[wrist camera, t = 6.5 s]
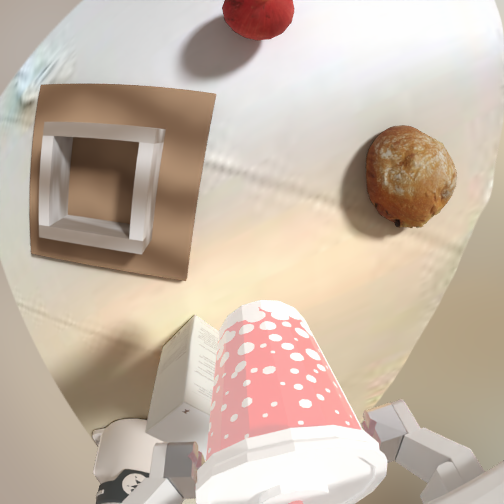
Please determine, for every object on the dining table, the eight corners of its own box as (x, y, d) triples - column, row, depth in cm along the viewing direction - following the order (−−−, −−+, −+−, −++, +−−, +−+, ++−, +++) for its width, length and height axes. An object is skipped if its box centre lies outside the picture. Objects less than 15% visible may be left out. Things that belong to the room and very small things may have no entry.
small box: (162, 346, 35) (141, 432, 23) (195, 312, 34) (183, 400, 22) (215, 380, 38) (214, 466, 26) (250, 350, 36) (260, 439, 24)
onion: (216, 42, 25) (213, 12, 17) (231, -8, 23) (233, -47, 15) (278, 55, 25) (296, 30, 18) (291, 6, 24) (311, -29, 16)
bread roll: (426, 154, 33) (468, 131, 25) (427, 238, 32) (476, 228, 24) (355, 132, 32) (391, 98, 24) (352, 223, 31) (395, 207, 23)
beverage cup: (179, 319, 15) (140, 634, 2) (293, 263, 15) (443, 601, 2) (239, 395, 17) (263, 633, 4) (337, 351, 17) (438, 588, 4)
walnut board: (187, 276, 32) (181, 300, 28) (35, 250, 30) (12, 267, 25) (216, 95, 26) (214, 87, 22) (45, 85, 24) (19, 81, 19)
